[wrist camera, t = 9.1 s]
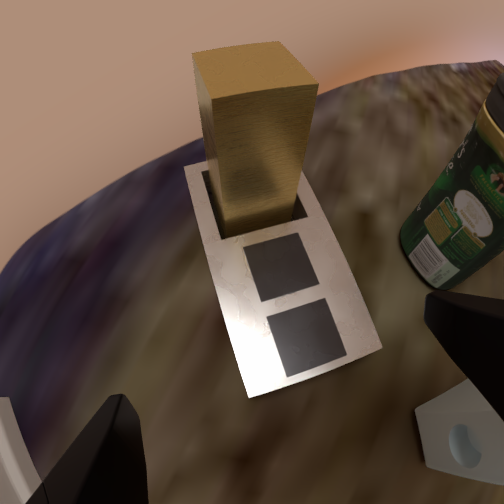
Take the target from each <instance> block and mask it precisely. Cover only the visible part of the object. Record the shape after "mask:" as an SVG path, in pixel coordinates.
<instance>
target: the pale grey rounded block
mask: <svg viewBox="0 0 504 504" xmlns="http://www.w3.org/2000/svg"><path fill="white" fill-rule="evenodd" d="M415 414H416V418H417V423H418V427H419V432H420V437H421V442H422V447H423V452H424V457H425V463H426V466H427V467H428V468H431V469H435V470H438V471H442V472H445V473H449V474H453V475H457V476H461V477H465V478H469V479H473V480H478V481H482V482H487V483H492V484H498V485H503V486H504V422H503V420H502V419H501V418H500V417H499V415H498V414H497V413H496V411H495V410H494V409H493V408H492V406H491V405H490V404H489V403H488V401H487V400H486V399H485V398H484V397H483V395H482V394H481V393H480V392H479V391H478V389H477V388H476V387H475V386H474V385H473V383H472V382H471V381H470V380H469V379H466V380H465V381H463V382H461V383H460V384H458V385H456V386H455V387H453V388H451V389H450V390H448V391H446V392H444V393H443V394H441V395H439V396H437V397H435V398H434V399H432V400H430V401H428V402H426V403H424V404H422V405H420V406H418V407H417V408H416V409H415Z"/></svg>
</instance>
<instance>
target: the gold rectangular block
mask: <svg viewBox="0 0 504 504" xmlns="http://www.w3.org/2000/svg"><path fill="white" fill-rule="evenodd" d="M192 58H193V66H194V74H195V81H196V89H197V96H198V104H199V111H200V118H201V125H202V132H203V139H204V146H205V152H206V159H207V165H208V172H209V178H210V184H211V191H212V197H213V201H214V204H215V208H216V211H217V214H218V217H219V220H220V224H221V227H222V230H223V233H224V236H225V239H227V238H231V237H235V236H238V235H242V234H246V233H250V232H253V231H257V230H261V229H265V228H268V227H272V226H276V225H280V224H284V223H287V222H290V221H291V216H292V212H293V207H294V203H295V198H296V194H297V189H298V185H299V180H300V175H301V171H302V166H303V161H304V156H305V152H306V147H307V142H308V137H309V132H310V127H311V122H312V117H313V112H314V107H315V101H316V96H317V91H318V86H319V83H318V82H317V81H316V80H315V79H314V78H313V77H312V75H311V74H310V73H309V72H308V71H307V70H306V69H305V68H304V67H303V66H302V65H301V63H300V62H299V61H298V60H297V59H296V58H295V57H294V56H293V55H292V54H291V53H290V52H289V51H288V50H287V49H286V48H285V47H284V46H283V45H282V44H281V43H280V42H279V41H277V42H266V43H255V44H246V45H238V46H231V47H224V48H218V49H212V50H206V51H201V52H196V53H192Z"/></svg>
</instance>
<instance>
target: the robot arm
mask: <svg viewBox="0 0 504 504" xmlns="http://www.w3.org/2000/svg"><path fill="white" fill-rule="evenodd" d="M424 321H425V323H426V325H427V326H428V328H429V329H430V330H431V332H432V333H433V334H434V336H435V337H436V339H437V340H438V341H439V343H440V344H441V345H442V347H443V348H444V350H445V351H446V352H447V354H448V355H449V356H450V358H451V359H452V360H453V361H454V362H455V364H456V365H457V366H458V367H459V368H460V369H461V370H462V372H463V373H464V374H465V375H466V376H467V377H468V379H469V380H470V381H471V382H472V383H473V385H474V386H475V387H476V388H477V389H478V391H479V392H480V393H481V394H482V395H483V397H484V398H485V399H486V400H487V401H488V403H489V404H490V405H491V406H492V408H493V409H494V410H495V411H496V413H497V414H498V415H499V417H500V418H501V419H502V420H503V422H504V300H502V299H495V298H489V297H482V296H475V295H469V294H462V293H455V292H449V291H442V290H435V291H433V292H431V293H429V294H427V295H426V298H425V307H424ZM25 504H149V502H148V488H147V471H146V462H145V455H144V448H143V441H142V434H141V426H140V419H139V416H138V414H137V412H136V411H135V409H134V408H133V406H132V404H131V403H130V401H129V400H128V398H127V397H126V396H125V395H124V394H117V395H111V396H109V397H108V399H107V400H106V401H105V402H104V404H103V405H102V406H101V407H100V409H99V410H98V411H97V412H96V414H95V415H94V416H93V417H92V419H91V420H90V421H89V422H88V424H87V425H86V426H85V427H84V429H83V430H82V431H81V432H80V434H79V435H78V436H77V438H76V439H75V440H74V441H73V443H72V444H71V445H70V446H69V448H68V449H67V450H66V452H65V453H64V454H63V455H62V457H61V458H60V459H59V461H58V462H57V463H56V464H55V466H54V467H53V468H52V470H51V471H50V472H49V474H48V475H47V476H46V477H45V479H44V480H43V482H42V483H41V484H40V485H39V487H38V488H37V489H36V490H35V492H34V493H33V494H32V495H31V497H30V498H29V499H28V500H27V502H26V503H25Z"/></svg>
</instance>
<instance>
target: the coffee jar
mask: <svg viewBox="0 0 504 504" xmlns="http://www.w3.org/2000/svg"><path fill="white" fill-rule="evenodd" d="M400 238H401V243H402V247H403V249H404V251H405V253H406V255H407V257H408V259H409V261H410V262H411V264H412V266H413V267H414V269H415V270H416V271H417V272H418V274H419V275H420V276H421V277H422V278H423V279H424V280H425V281H426V282H427V283H428V284H430V285H431V286H433V287H435V288H437V289H440V290H448V289H451V288H453V287H455V286H456V285H458V284H459V283H461V282H462V281H464V280H465V279H466V278H468V277H469V276H471V275H472V274H474V273H475V272H476V271H477V270H479V269H480V268H482V267H483V266H484V265H485V264H487V263H488V262H489V261H490V260H492V259H493V258H494V257H496V256H497V255H498V254H500V253H501V252H502V251H503V250H504V73H502V74H500V75H499V77H498V78H497V82H496V83H495V85H494V87H493V88H492V90H491V92H490V93H489V95H488V97H487V99H486V100H485V101H484V103H483V105H482V107H481V109H480V111H479V113H478V115H477V117H476V119H475V121H474V123H473V125H472V126H471V128H470V130H469V132H468V134H467V135H466V137H465V139H464V140H463V142H462V143H461V145H460V147H459V148H458V150H457V151H456V153H455V154H454V156H453V157H452V159H451V160H450V162H449V163H448V165H447V166H446V168H445V169H444V170H443V172H442V173H441V175H440V176H439V178H438V179H437V180H436V182H435V183H434V185H433V186H432V187H431V189H430V190H429V191H428V193H427V194H426V195H425V197H424V198H423V199H422V200H421V202H420V203H419V204H418V206H417V207H416V208H415V210H414V211H413V212H412V213H411V215H410V216H409V217H408V218H407V220H406V221H405V222H404V224H403V226H402V228H401V233H400Z"/></svg>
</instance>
